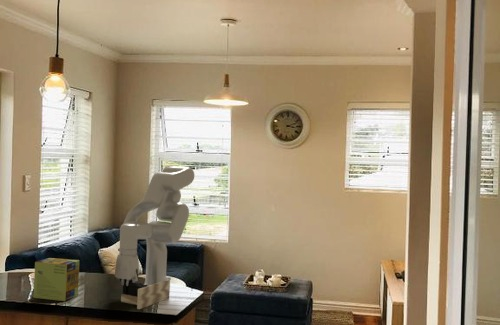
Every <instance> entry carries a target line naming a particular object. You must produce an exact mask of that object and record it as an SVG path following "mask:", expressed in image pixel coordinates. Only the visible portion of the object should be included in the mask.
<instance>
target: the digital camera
mask: <svg viewBox="0 0 500 325" xmlns="http://www.w3.org/2000/svg"><path fill="white" fill-rule="evenodd" d="M144 284H145V283H141V282H133V283H131V284H128V295H131V296H136V297H138V289H140V288H143V287H146V286H149V285H144Z"/></svg>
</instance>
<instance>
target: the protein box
mask: <svg viewBox="0 0 500 325" xmlns="http://www.w3.org/2000/svg"><path fill="white" fill-rule="evenodd" d="M33 279H34V280H33V281H34V282H33V296H32V297H33V299H42V300H43V299H44V300H51V301H52V300H53V301H60V302H61V301H62V302H66V301H68V300H71V299H73V298H76V297H77V296H79V280H80V260H79V259H67V258H54V257H53V258H52V257H48V258H44V259H40V260H36V261H35V262H34V278H33Z"/></svg>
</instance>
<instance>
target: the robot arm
mask: <svg viewBox="0 0 500 325" xmlns="http://www.w3.org/2000/svg"><path fill="white" fill-rule="evenodd" d="M194 180H195V172H194V170H193V169H192V168H191V167H189V166H166V167H164V168H163V169H162V170H161V172H156V173H154V174H153V175H152V177H151V179H150V181H149V184H148V186H147V189H146V192H145V194H144V196H143V198H142V199H141V200H140V201H139V202H138V203H136V204H135V205H134V206H133V207H132V208H131V209H129V211H128V212H127V214H126V216H125V219H124V221H123V223H122V224H121V225H120V227H119V228H120V230H119V248H118V249H117V252H119V254H117V256H116V261H115V266H114V268H115V269H114V277H115V278H116V279H117V280H118V281H120V284H121V286H122V294H125V295H128V284H131V283H138V281H139V280H138V278H139V276H140V275H139V274H140V262H139V256H138V240H145V241H146V259H145V260H146V261H145V283H143V284H144V285H152V284H155V283H158V282H161V281H164V280H167V279H169V280H170V281H171V279H172V278H171V276H167V261H168V260H167V259H168V248H167V245H166V244H177V243H178V242H179V241H180V239H181V237H182V235H183V232H184V230H185V227H186V224H187V222H188V219H189V216H190V215H189V214H190V210H189V207H188V205H187V204H186V203H184V202H180V201H181V197H182V193H181V190H182V189H185V187H188V186H189V185H191V184H192V183H193V182H194ZM154 210H156V212H155V213H156V214H155V215H156V218H157V220H154V221H150V222H145V221H144V222H143V221H138V220H139V218H141V217H142V216H143V215H144V214H146V213H149V212H151V211H154Z"/></svg>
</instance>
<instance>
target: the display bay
mask: <svg viewBox="0 0 500 325" xmlns="http://www.w3.org/2000/svg"><path fill="white" fill-rule="evenodd" d="M170 289H171V280H169V279H167V280H164V281H161V282H158V283H155V284H152V285H149V286H146V287H143V288H140V289H138V297H136V296H131V295H125V294H123V293H122V294H120V302H121V303H126V304H129V305H136V309H137V310H141V309H144V308H146V307H149V306H152V305H154V304H157V303H159V302H162V301H164V300H167V299H170V292H171V290H170Z"/></svg>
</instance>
